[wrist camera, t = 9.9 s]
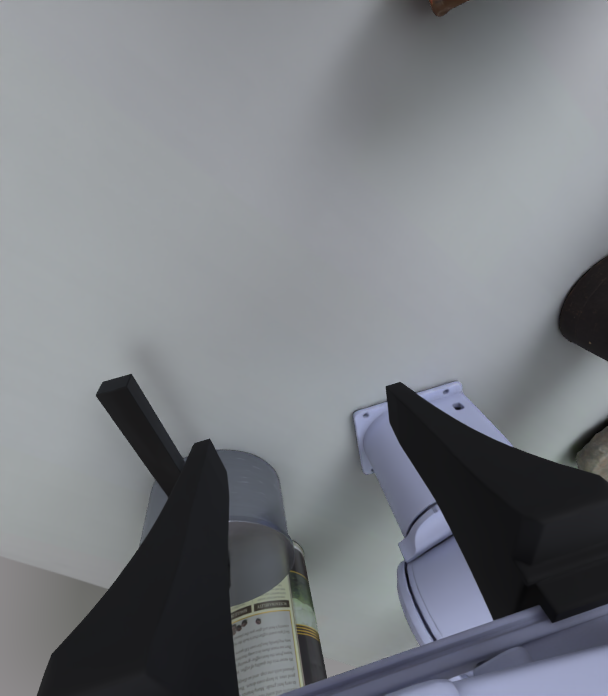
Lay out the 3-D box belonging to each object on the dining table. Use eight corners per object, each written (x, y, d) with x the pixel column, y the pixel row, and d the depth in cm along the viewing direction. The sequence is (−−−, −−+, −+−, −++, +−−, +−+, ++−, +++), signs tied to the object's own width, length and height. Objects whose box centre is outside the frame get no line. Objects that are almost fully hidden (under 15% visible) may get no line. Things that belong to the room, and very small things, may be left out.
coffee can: (322, 544, 37) (368, 730, 25) (272, 593, 41) (292, 778, 29) (239, 527, 33) (247, 743, 21) (191, 584, 36) (174, 798, 24)
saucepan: (222, 319, 22) (221, 392, 15) (295, 511, 33) (311, 598, 27) (39, 369, 21) (-43, 468, 15) (179, 547, 33) (168, 646, 26)
